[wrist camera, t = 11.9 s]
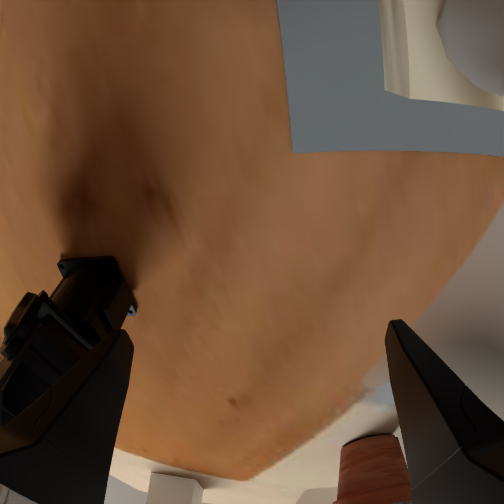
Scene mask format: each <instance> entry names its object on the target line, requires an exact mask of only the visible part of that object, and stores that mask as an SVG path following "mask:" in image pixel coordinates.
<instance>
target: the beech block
mask: <svg viewBox="0 0 504 504" xmlns="http://www.w3.org/2000/svg"><path fill="white" fill-rule="evenodd" d="M444 2H445V0H378V8H379V16H380V26H381V36H382V49H383V64H384V87H385V90H386V91H389V92H392V93H395V94H398V95H400V96H403V97H406V98H409V99H418V100H429V101H440V102H448V103H457V104H464V105H471V106H478V107H484V108H490V109H495V110H501V111H504V96H499V95H496V94H494V93H491V92H488V91H486V90H483V89H480V88H478V87H477V86H475V85H474V84H473V83H472V82H471V81H470V80H469V79H468V78H467V77H466V76H465V75H464V74H463V73H462V72H460V71H459V70H458V69H457V68H456V67H455V66H454V64H453V63H452V62H451V61H450V60H449V59H448V58H447V56H446V53H445V50H444V47H443V44H442V41H441V38H440V36H439V33H438V30H437V28H436V24H437V22H438V20H439V19H440V17H441V14H442V10H443V6H444Z"/></svg>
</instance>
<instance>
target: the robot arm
mask: <svg viewBox="0 0 504 504" xmlns="http://www.w3.org/2000/svg"><path fill="white" fill-rule="evenodd" d="M110 262H111V263H110ZM57 266H58V268H59V270H60V272H61V274H62V276H63V279H62V280H61V282H60V283H59V284H58V286H57V287H56V289H55V290H54V291H53V293H52V294H51V296H50V297H48V294H47V293H46V292H45V291H44V290H43V291H41V292H40V293H39V294H38V295H36V294H33V293H30V292H27V293H26V294H25V295H24V297H23V298H22V299H21V301H20V302H19V304H18V305H17V306H16V308H15V309H14V311H13V313H12V314H11V316H10V318H9V320H8V322H7V323H6V325H5V327H4V336H5V337H4V340H3V344H2V347H1V350H0V353H1V354H2V355H3V356H4V358H3V360H2V362H1V363H0V504H104V500H105V494H106V488H107V481H108V476H109V471H110V466H111V461H112V456H113V451H114V446H115V441H116V437H117V432H118V428H119V423H120V419H121V415H122V411H123V406H124V402H125V398H126V394H127V390H128V386H129V380H130V373H131V366H132V359H133V353H134V345H133V343H132V341H131V339H130V337H129V335H128V333H127V332H126V330H124V329H121V327H122V324H123V322H124V320H125V318H126V316H134V315H135V314H136V312H137V309H136V307H135V305H134V302H133V299H132V297H131V295H130V292H129V290H128V288H127V285H126V283H125V281H124V279H123V277H122V274H121V272H120V269H119V267H118V264H117V262H116V260H115V259H114V258H113V257H111V256H104V257H89V258H75V259H61V260H60V261H59V262H58V263H57ZM385 346H386V353H387V360H388V368H389V376H390V383H391V388H392V392H393V397H394V401H395V405H396V410H397V414H398V419H399V424H400V428H401V433H402V439H403V444H404V449H405V454H406V460H407V466H408V472H409V478H410V485H411V489H412V490H411V492H412V500H413V504H504V421H503V420H501V418H499V417H498V416H497V415H496V414H495V413H494V412H492V411H491V410H490V409H489V408H488V407H487V406H486V405H485V404H484V403H483V402H482V401H481V400H480V399H478V397H477V396H476V395H475V394H474V393H473V392H472V391H471V390H470V389H469V388H468V387H467V386H465V384H464V383H463V382H462V380H461V379H460V378H459V377H458V376H457V375H456V374H455V373H454V372H453V371H452V370H451V369H450V368H449V367H448V366H447V365H446V364H445V363H444V361H443V360H442V359H441V358H440V357H439V356H438V355H437V354H436V353H435V352H434V351H433V350H432V349H431V348H430V347H429V346H428V345H427V344H426V343H425V342H424V341H423V340H422V339H421V338H420V337H419V336H418V335H417V334H416V333H415V332H414V331H413V330H412V329H411V328H410V327H409V326H408V325H407V324H406V323H405V322H404V321H403V320H401V319H397V320H391V321H390V322H389V324H388V328H387V332H386V336H385Z"/></svg>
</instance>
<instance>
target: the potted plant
mask: <svg viewBox="0 0 504 504" xmlns="http://www.w3.org/2000/svg"><path fill="white" fill-rule="evenodd" d="M411 490H412V489H411V485H410V478H409V472H408V468H407V465H406V462H405V459H404V455H403V452H402V449H401V446H400V443H399V440H398V437H395V436H394V435H379V436H372V437H368V438H364V439H360V440H358V441H355V442H352V443H350V444H348V445H346V446H345V447H343V448H342V449H341V457H340V471H339V482H338V494H337V501H335V502H333V504H413V500H412V492H411Z"/></svg>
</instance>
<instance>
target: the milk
mask: <svg viewBox="0 0 504 504" xmlns="http://www.w3.org/2000/svg"><path fill="white" fill-rule="evenodd" d="M203 490H204V489H203V488H202V487H201V486H200V485H199V483H198V482H197V481H196V480H195V479H189V478H182V477H176V476H170V475H164V474H158V473H153V472H151V477H150V483H149V489H148V496H147V503H146V504H201V501H202V495H203Z"/></svg>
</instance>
